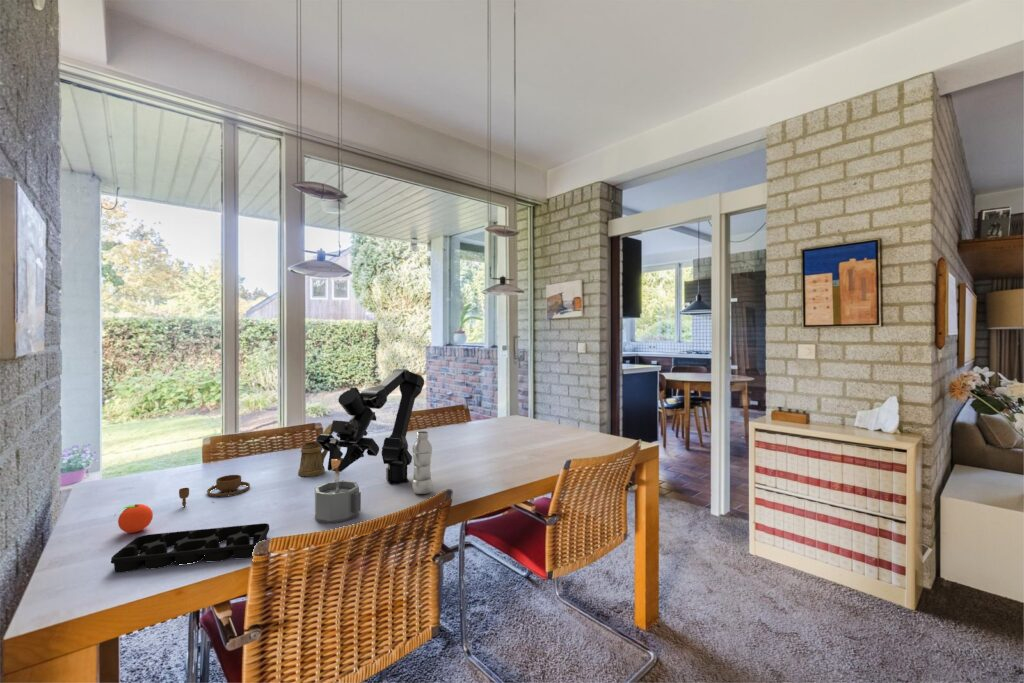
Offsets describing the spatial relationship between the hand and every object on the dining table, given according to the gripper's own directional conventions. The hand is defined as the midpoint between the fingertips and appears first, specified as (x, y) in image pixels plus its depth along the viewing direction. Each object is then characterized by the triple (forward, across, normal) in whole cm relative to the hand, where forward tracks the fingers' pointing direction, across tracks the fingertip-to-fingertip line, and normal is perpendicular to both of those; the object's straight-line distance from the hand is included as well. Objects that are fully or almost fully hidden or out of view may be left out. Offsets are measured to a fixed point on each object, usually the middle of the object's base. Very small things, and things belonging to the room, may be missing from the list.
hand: (333, 470), depth 125 cm
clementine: (+26, -43, -8) cm, 51 cm away
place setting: (+8, -49, +12) cm, 51 cm away
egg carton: (+29, -17, -9) cm, 35 cm away
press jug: (+8, 0, +10) cm, 13 cm away
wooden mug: (-14, -34, +33) cm, 49 cm away
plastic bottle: (-8, +14, +27) cm, 32 cm away
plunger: (+4, 0, +6) cm, 8 cm away
